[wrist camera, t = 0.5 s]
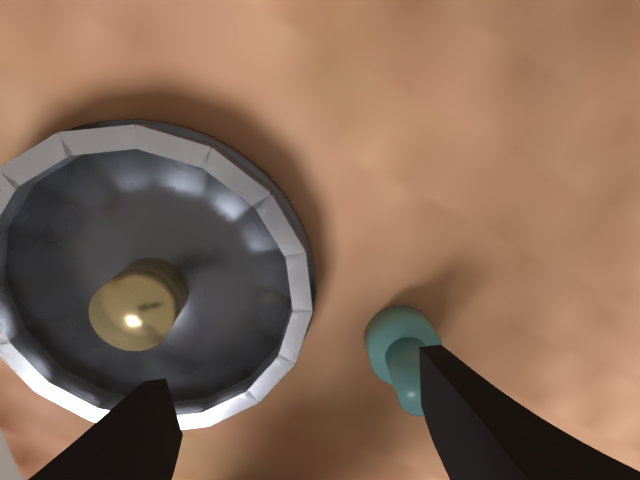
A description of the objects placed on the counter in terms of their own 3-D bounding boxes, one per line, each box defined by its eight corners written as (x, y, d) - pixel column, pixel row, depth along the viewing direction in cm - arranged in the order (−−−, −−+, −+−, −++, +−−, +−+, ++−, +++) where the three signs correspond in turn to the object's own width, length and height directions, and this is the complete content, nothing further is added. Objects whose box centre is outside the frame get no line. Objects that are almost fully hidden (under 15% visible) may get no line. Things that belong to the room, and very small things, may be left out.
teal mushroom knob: (430, 360, 23) (465, 424, 18) (366, 367, 23) (383, 433, 18) (430, 302, 21) (467, 355, 17) (362, 309, 21) (379, 364, 17)
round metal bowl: (327, 392, 23) (332, 440, 20) (53, 422, 23) (9, 476, 19) (295, 102, 18) (294, 98, 14) (-65, 138, 17) (-154, 144, 14)
